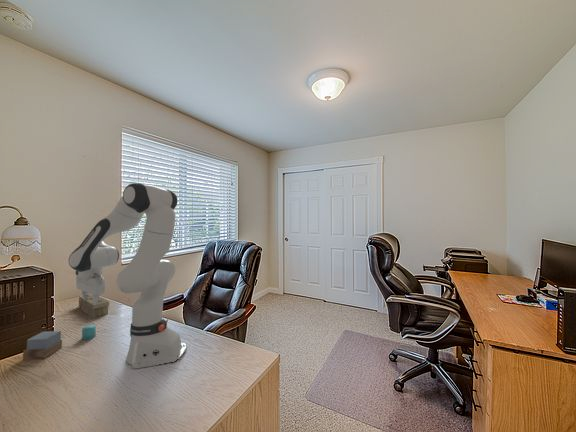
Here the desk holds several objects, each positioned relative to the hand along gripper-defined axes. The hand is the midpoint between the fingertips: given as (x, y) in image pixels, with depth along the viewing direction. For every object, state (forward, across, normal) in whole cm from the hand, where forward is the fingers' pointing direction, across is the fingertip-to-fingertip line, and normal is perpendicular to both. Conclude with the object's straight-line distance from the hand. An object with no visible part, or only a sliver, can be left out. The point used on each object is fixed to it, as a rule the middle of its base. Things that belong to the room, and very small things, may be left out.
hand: (90, 301), depth 113 cm
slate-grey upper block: (+14, -1, +16) cm, 21 cm away
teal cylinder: (+17, 0, 0) cm, 17 cm away
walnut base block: (+18, -1, +16) cm, 24 cm away
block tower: (+18, +38, -17) cm, 45 cm away
